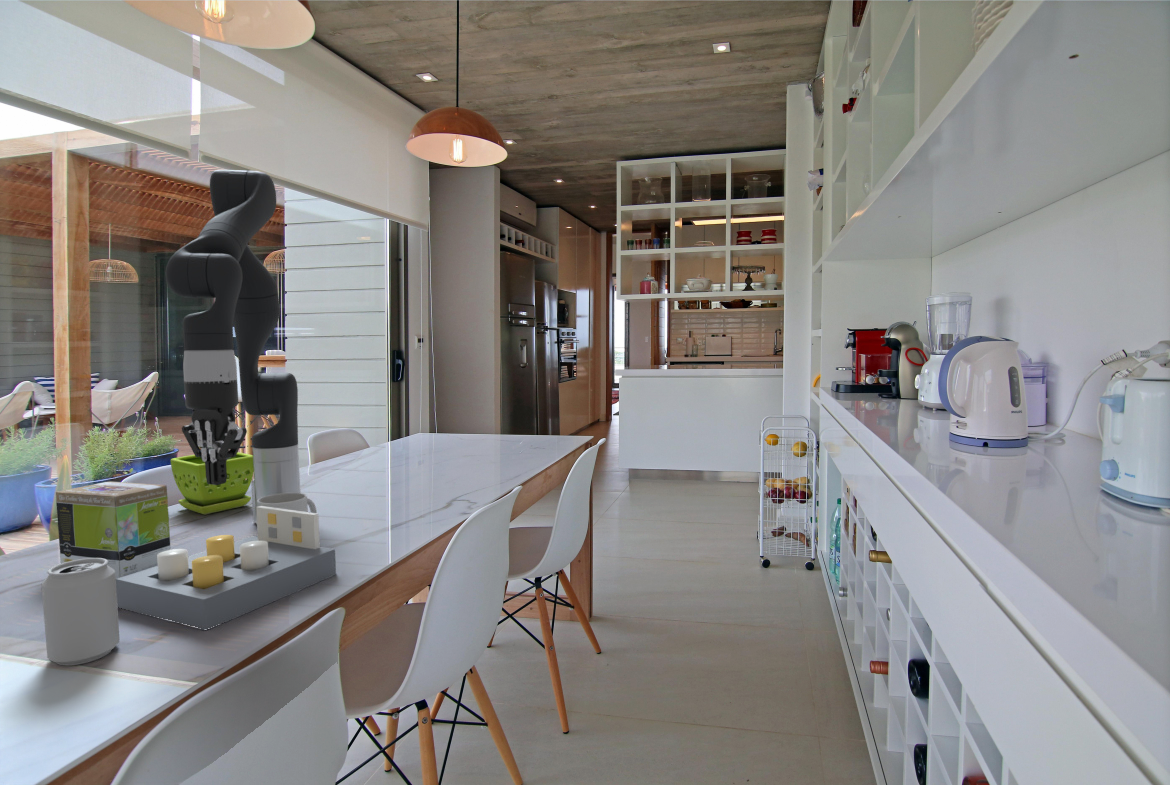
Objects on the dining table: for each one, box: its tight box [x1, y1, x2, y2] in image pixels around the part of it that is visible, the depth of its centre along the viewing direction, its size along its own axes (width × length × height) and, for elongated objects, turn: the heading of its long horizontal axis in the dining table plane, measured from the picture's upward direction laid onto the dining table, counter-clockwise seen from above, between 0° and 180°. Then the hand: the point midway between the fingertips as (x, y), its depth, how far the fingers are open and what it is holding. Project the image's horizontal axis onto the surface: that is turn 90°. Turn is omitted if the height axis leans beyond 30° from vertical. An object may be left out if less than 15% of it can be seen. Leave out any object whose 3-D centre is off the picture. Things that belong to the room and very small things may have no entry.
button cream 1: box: [157, 548, 189, 581], centre depth 102 cm, size 4×4×5 cm
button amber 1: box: [205, 534, 235, 563], centre depth 109 cm, size 4×4×5 cm
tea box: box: [55, 481, 172, 580], centre depth 118 cm, size 15×10×15 cm, turn 71°
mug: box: [257, 492, 318, 514], centre depth 129 cm, size 11×10×10 cm
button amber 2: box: [192, 555, 224, 589], centre depth 99 cm, size 4×4×5 cm
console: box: [115, 506, 337, 630], centre depth 107 cm, size 20×24×10 cm
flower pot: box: [170, 451, 254, 516], centre depth 160 cm, size 14×14×13 cm
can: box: [41, 558, 120, 667], centre depth 85 cm, size 8×8×12 cm
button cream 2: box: [240, 540, 269, 571], centre depth 106 cm, size 4×4×5 cm
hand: (216, 483), depth 108 cm, fingers closed
